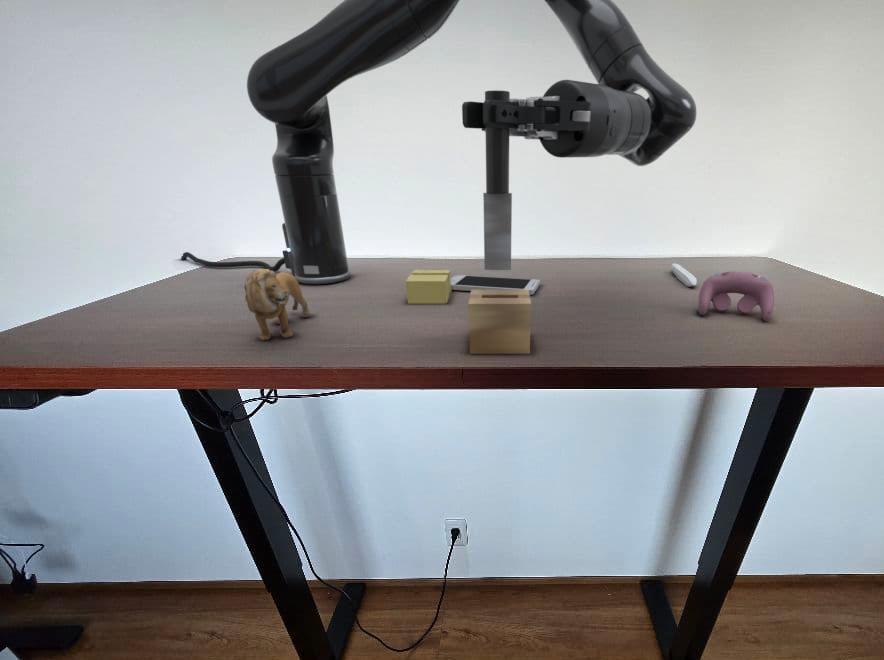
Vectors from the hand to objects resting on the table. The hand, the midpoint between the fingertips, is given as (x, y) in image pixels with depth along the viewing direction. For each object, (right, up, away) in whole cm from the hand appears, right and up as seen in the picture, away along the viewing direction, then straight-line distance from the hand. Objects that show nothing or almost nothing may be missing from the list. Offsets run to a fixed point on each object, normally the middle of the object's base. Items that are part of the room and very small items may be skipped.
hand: (475, 114), depth 45 cm
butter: (-9, -10, +33) cm, 35 cm away
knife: (+2, -12, +9) cm, 15 cm away
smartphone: (0, -7, +37) cm, 38 cm away
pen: (+35, -5, +43) cm, 56 cm away
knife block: (+2, -20, +13) cm, 24 cm away
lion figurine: (-26, -18, +18) cm, 36 cm away
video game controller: (+36, -15, +24) cm, 46 cm away
